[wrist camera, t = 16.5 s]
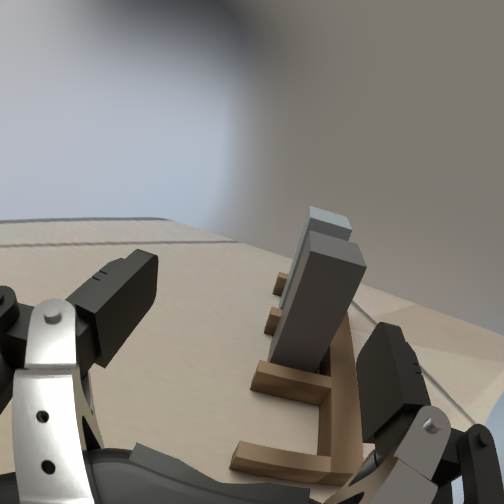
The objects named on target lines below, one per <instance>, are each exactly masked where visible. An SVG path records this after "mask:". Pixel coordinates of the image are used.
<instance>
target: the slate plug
mask: <svg viewBox="0 0 504 504" xmlns="http://www.w3.org/2000/svg"><path fill="white" fill-rule="evenodd" d="M310 230H311V231H315V232H318V233H322V234H325V235H329V236H332V237H335V238H339V239H342V240H345V241H348V240H349V237H350V235H351V232H352V228H351V226H350V224H349V221H348V219H347V217H345V216H342V215H338V214H335V213H332V212H329V211H325V210H322V209H319V208H315V207H312V206H310V207H309V210H308V214H307V217H306V221H305V224H304V227H303V230H302V234H301V237H300V240H299V243H298V247H297V250H296V253H295V256H294V259H293V262H292V265H291V269H290V272H289V275H288V278H287V281H286V284H285V287H284V290H283V293H282V296H281V299H280V303H279V308H278V309H281V310H283V309H284V306H285V303H286V300H287V297H288V294H289V291H290V289H291V286H292V283H293V280H294V277H295V274H296V271H297V268H298V265H299V262H300V259H301V256H302V253H303V250H304V247H305V243H306V240H307V237H308V234H309V231H310Z"/></svg>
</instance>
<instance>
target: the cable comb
mask: <svg viewBox="0 0 504 504" xmlns="http://www.w3.org/2000/svg"><path fill="white" fill-rule="evenodd" d="M287 278H288V274H285V273H281V272H279V274H278V277H277V281H276V284H275V287H274V291H273V294H275V295H279V296H282V293H283V290H284V287H285V284H286V281H287ZM282 311H283V310H281V309H277V308H274V307H272V308H271V311H270V314H269V317H268V320H267V323H266V326H265V330H264V333H267V334H270V335H274V333H275V331H276V328H277V325H278V323H279V320H280V317H281V314H282ZM250 389H251V390H255V391H259V392H262V393H266V394H271V395H275V396H279V397H283V398H288V399H292V400H297V401H302V402H307V403H312V404H317V405H320V406H319V431H318V449H317V455H311V454H304V453H297V452H291V451H285V450H280V449H275V448H270V447H265V446H260V445H256V444H252V443H248V442H243V441H239V443H238V445H237V447H236V449H235V451H234V453H233V456H232V460H231V464H230V467H229V468H230V469H234V470H238V471H243V472H247V473H252V474H256V475H261V476H267V477H272V478H278V479H284V480H291V481H299V482H307V483H317V484H330V485H345V483H346V482H347V481H348V480H349V479H350V478H351V476H352V475H353V474H354V473H355V472H356V470H357V469H358V468H359V467H360V466H361V464H362V463H363V448H362V430H361V417H360V405H359V394H358V385H357V376H356V367H355V359H354V352H353V345H352V338H351V331H350V325H349V318H348V312H346V314H345V316H344V318H343V320H342V322H341V324H340V326H339V328H338V330H337V332H336V334H335V336H334V338H333V340H332V342H331V343H330V345H329V347H328V349H327V351H326V353H325V355H324V356H323V358H322V360H321V362H320V375H319V374H315V373H310V372H306V371H301V370H297V369H293V368H289V367H285V366H281V365H277V364H273V363H269V362H265V361H261V360H260V361H259V364H258V366H257V369H256V372H255V374H254V377H253V380H252V384H251V388H250Z"/></svg>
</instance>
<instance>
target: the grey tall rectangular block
mask: <svg viewBox="0 0 504 504" xmlns="http://www.w3.org/2000/svg"><path fill="white" fill-rule="evenodd" d="M366 268H367V266H366V264H365V261H364V259H363V256H362V254H361V251H360V249H359V247H358V244H355V243H352V242H348V241H345V240H342V239H339V238H335V237H332V236H329V235H325V234H322V233H318V232H315V231H311V230H310V231H309V234H308V237H307V240H306V243H305V247H304V250H303V253H302V256H301V259H300V262H299V265H298V268H297V271H296V274H295V277H294V280H293V283H292V286H291V289H290V291H289V294H288V297H287V300H286V303H285V306H284V309H283V311H282V314H281V317H280V320H279V323H278V325H277V328H276V331H275V333H274V336H273V339H272V342H271V346H270V351H269V356H268V361H267V362H269V363H273V364H277V365H281V366H285V367H289V368H293V369H297V370H301V371H306V372H310V373H314V372H315V371H316V369H317V367H318V365H319V364H320V362H321V360H322V358H323V356H324V355H325V353H326V351H327V349H328V347H329V345H330V343H331V342H332V340H333V338H334V336H335V334H336V332H337V330H338V328H339V326H340V324H341V322H342V320H343V318H344V316H345V314H346V312H347V310H348V308H349V306H350V303H351V301H352V299H353V297H354V295H355V293H356V291H357V288H358V286H359V284H360V282H361V279H362V277H363V275H364V273H365V270H366Z"/></svg>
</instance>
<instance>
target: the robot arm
mask: <svg viewBox="0 0 504 504" xmlns="http://www.w3.org/2000/svg"><path fill="white" fill-rule="evenodd" d="M157 274H158V256H157V255H155V254H152V253H149V252H146V251H143V250H140V249H137V250H135V251H134V252H133V253H131V254H130V255H129V256H128V257H127V258H125V259H123V258H119V259H117V260H114V261H111V262H109V263H107V264H106V265H105V266H104V267H103V268H101V269H100V270H99V272H97V273H95V274H94V275H93V276H92V278H89V279H88V280H87V281H86V282H85V283H84V284H82V285H81V286H80V287H79V288H78V289H77V290H76V291H74V292H73V293H72V294H71V295H70V296H69V297H68V298H67V299H65V300H63V299H55V298H54V299H48V300H45V301H43V302H41V303H39V304H38V305H37V306H36V307H33V306H29V305H24V304H20V303H18V302H17V299H16V295H15V292H14V291H13V289H11V288H10V287H7V286H0V414H1V413H2V411H3V410H4V409H5V407H6V406H7V404H8V403H9V401H10V400H11V398H12V397H13V401H12V433H13V451H14V462H15V471H16V472H12V473H7V474H2V475H0V504H322V503H320V502H317V501H315V500H313V499H311V498H309V496H310V489H308V488H299V487H291V486H284V485H277V484H271V483H258V484H229V483H220V482H218V481H215V480H214V479H212V478H210V477H208V476H206V475H204V474H203V473H201V472H199V471H197V470H195V469H194V468H192V467H190V466H189V465H187V464H185V463H184V462H182V461H180V460H179V459H176V458H174V457H171V456H168V455H166V454H163V453H161V452H158V451H156V450H153V449H151V448H148V447H146V446H144V445H141V444H139V443H136V445H135V447H134V449H133V451H132V450H127V449H118V448H104V444H103V440H102V436H101V433H100V430H99V427H98V423H97V419H96V414H95V408H94V401H93V394H92V387H91V379H90V371H89V369H90V368H91V366H92V365H93V364H94V363H96V364H98V365H99V366H101V367H103V368H106V366H107V365H108V364H109V362H110V361H111V360H112V358H113V357H114V355H115V354H116V353H117V351H118V350H119V349H120V347H121V346H122V345H123V343H124V342H125V341H126V339H127V338H128V337H129V335H130V334H131V333H132V331H133V330H134V329H135V327H136V326H137V325H138V323H139V322H140V321H141V320H142V318H143V317H144V316H145V314H146V313H147V312H148V311H149V309H150V308H151V306H152V305H153V303H154V300H155V297H156V291H157ZM418 365H419V363H418V360H417V357H416V354H415V352H414V351H413V349H412V348H411V346H410V345H409V344H408V342H405V339H404V336H403V333H402V330H401V328H400V327H399V326H396V325H392V324H388V323H384V322H380V323H378V324H377V326H376V327H375V329H374V330H373V332H372V334H371V335H370V337H369V339H368V340H367V342H366V343H365V345H364V346H363V348H362V350H361V351H360V353H359V355H358V358H357V362H356V372H357V381H358V391H359V401H360V413H361V427H362V443H373V444H375V449H374V450H373V451H372V452H371V453H370V454H369V455H368V457H367V458H366V459H365V460H364V462H363V463H362V464H361V466H360V467H359V468H358V469H357V470H356V472H355V473H354V474H353V475H352V476H351V478H350V479H349V480H348V481H347V482H346V483H345V485H344V486H343V487H342V488H341V489H340V490H339V491H338V492H337V493H335V494H334V495H333V496H331V497H330V498H329V499H327V500H326V501H325V502H324V503H323V504H453V498H452V486H451V482H452V481H453V480H455V479H457V478H458V477H460V476H461V475H462V481H463V490H464V503H463V504H504V489H503V483H502V477H501V471H500V466H499V461H498V456H497V452H496V448H495V444H494V440H493V437H492V435H491V433H490V431H489V430H488V429H487V428H486V427H485V426H483V425H481V424H475V425H473V426H471V427H470V428H469V429H468V430H467V431H466V432H462V431H459V430H456V429H453V428H451V425H450V421H449V419H448V417H447V416H446V414H445V413H444V412H443V411H442V410H440V409H439V408H437V407H434V406H431V402H430V399H429V395H428V392H427V388H426V385H425V381H424V378H423V375H421V373H422V372H421V369H420V366H418Z"/></svg>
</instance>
